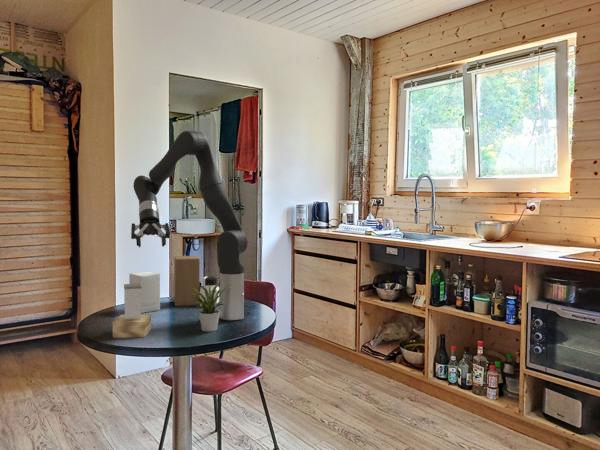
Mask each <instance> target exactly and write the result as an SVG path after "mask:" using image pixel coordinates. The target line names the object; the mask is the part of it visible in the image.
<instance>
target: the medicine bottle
mask: <svg viewBox="0 0 600 450" xmlns="http://www.w3.org/2000/svg"><path fill="white" fill-rule="evenodd" d="M208 284H209V285H208ZM217 284H218V278H217V277H216V276H211V275H207V276H204V277H202V286H203V287H205V288H206V289H207V291H208V293H209V286H210V290H211V293H212V290H213V288H214V286H215V285H217ZM218 287H219V286H218V285H217V288H218ZM217 288H216V290H215V291H216V292H215V293H214V294H215V295H214V298H215V297H216V294H217V292H218V290H219V288H218V289H217ZM200 293H201V294H202V295H203V296H204V297H205V298H206V295H205V291H204V290H203V289H202V287H200ZM218 295H219V294H218ZM200 298H201V299H202V297H201V296H200ZM214 298H213V300H214ZM206 300H207V298H206ZM202 301H204V300H203V299H202ZM218 302H219V297H218V299H217V301H216V303H215V304H217V303H218ZM199 306H201V307H202V305H201V304H199ZM215 306H216V305H215ZM215 306H214V307H215Z"/></svg>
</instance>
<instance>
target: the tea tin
mask: <svg viewBox="0 0 600 450" xmlns="http://www.w3.org/2000/svg"><path fill="white" fill-rule="evenodd" d="M123 288H124V290H123V291H124V292H123V293H124V302H123V303H124V314H123V315H124V317H125V321H126V320H140V319H141V315H142V313H141V284H140V283H138V284H129V283H123Z"/></svg>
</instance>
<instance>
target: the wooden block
mask: <svg viewBox="0 0 600 450" xmlns="http://www.w3.org/2000/svg"><path fill="white" fill-rule="evenodd" d="M173 259H174V265H173V267H174V268H173V269H174V270H173V271H174V274H173V275H174V277H173V278H174V284H173V285H174V286H173V289H174V293H173V294H174V295H173V296H174V297H173V299H174V300H173V301H174V305H175V307H186V306H187V307H188V306H200V303H196V302H197V301H196V300H197V299H196V298H195V297H194V295H193V294H192V293H194V294H196V295H197V296H198V297H200V295H199V293H198V292H197V291H199V292H200V290H201V284H200V283H201V280H200V279H201V276H200V274H201V270H200V269H201V268H200V267H201V266H200V265H201V261H200V260H201V259H200V257H199V256H198V255H175V256H174V258H173ZM193 288H194V289H193ZM195 289H196V290H197V291H196V290H195ZM194 301H195V302H194Z"/></svg>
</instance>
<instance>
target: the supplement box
mask: <svg viewBox="0 0 600 450" xmlns="http://www.w3.org/2000/svg"><path fill="white" fill-rule="evenodd" d="M128 275H129V276H128V277H129V279H128V280H129V283H128V284H138V283H140V284H141V314H145V312H146V313H150V312H151V313H152V312H157V311H161V310H160V309H161V283H160V282H161V274H160V273H157V272H153V271H148V270H147V271H141V272H140V271H139V272H138V271H137V272H130V273H129V274H128Z"/></svg>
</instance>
